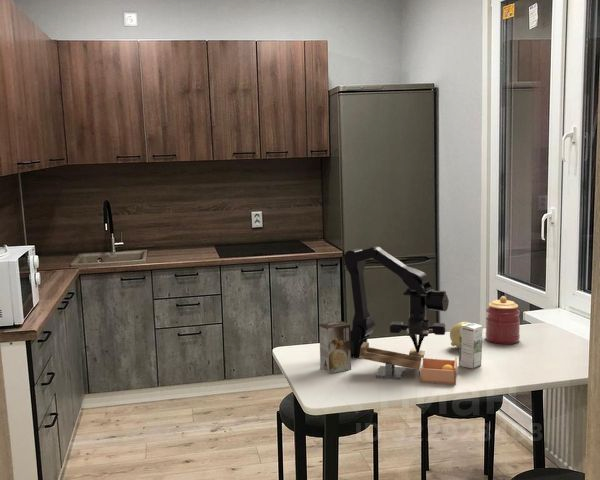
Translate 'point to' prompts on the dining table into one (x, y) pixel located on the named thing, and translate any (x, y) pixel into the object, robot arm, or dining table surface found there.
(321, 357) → the coffee box
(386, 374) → the lever stand
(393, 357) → the lever
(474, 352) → the syrup box
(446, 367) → the ball
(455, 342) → the yellow rounded lump
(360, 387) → the dining table surface
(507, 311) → the canister
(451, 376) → the orange open box
